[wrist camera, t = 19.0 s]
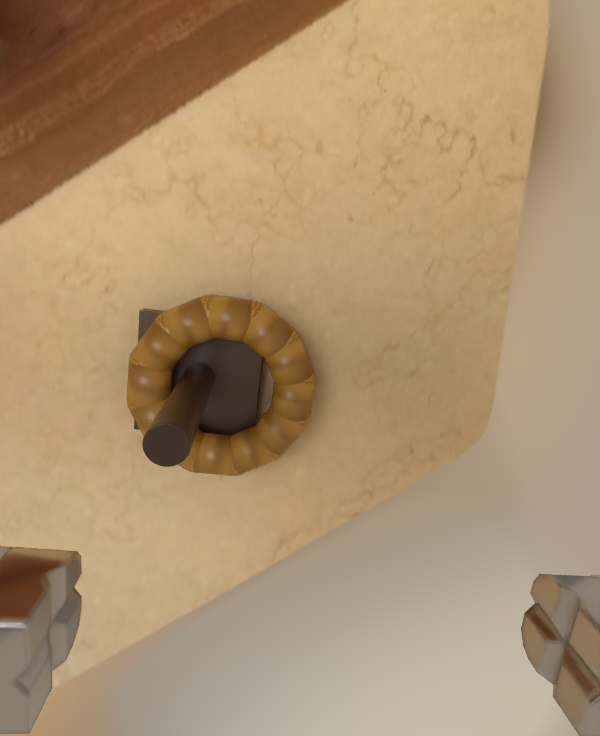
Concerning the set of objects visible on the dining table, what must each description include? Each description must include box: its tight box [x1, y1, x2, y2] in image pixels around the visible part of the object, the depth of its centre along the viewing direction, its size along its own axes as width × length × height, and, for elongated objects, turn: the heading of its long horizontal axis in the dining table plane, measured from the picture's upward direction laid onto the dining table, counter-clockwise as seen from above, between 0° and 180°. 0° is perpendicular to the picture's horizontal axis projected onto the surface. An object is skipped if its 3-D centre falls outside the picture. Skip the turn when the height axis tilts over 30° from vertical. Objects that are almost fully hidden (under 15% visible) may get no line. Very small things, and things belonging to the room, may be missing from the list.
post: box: [134, 309, 263, 467], centre depth 25 cm, size 8×8×12 cm
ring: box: [127, 295, 315, 476], centre depth 28 cm, size 12×12×3 cm
